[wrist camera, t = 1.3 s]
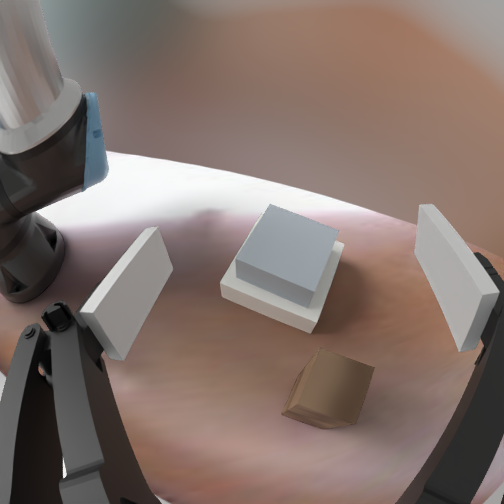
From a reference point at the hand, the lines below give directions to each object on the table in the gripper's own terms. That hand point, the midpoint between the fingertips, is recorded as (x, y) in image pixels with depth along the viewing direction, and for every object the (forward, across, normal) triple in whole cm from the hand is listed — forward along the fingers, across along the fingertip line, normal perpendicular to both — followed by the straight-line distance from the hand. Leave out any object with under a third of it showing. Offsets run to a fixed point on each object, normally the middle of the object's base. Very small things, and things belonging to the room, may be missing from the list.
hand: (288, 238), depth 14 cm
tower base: (+19, -3, -17) cm, 26 cm away
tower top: (+18, -2, -14) cm, 23 cm away
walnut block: (+4, 0, -24) cm, 24 cm away
